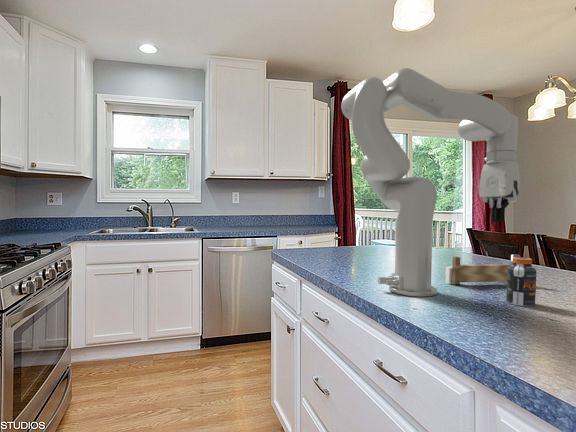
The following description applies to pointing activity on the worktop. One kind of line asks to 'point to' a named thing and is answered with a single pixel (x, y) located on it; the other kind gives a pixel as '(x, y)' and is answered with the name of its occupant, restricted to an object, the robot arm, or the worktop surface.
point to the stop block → (448, 275)
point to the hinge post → (511, 262)
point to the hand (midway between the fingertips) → (497, 221)
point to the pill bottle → (521, 282)
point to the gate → (478, 272)
